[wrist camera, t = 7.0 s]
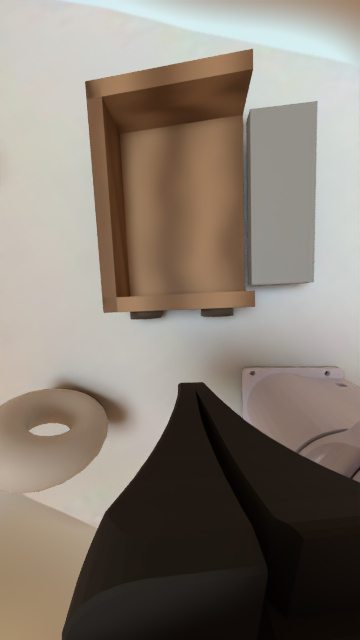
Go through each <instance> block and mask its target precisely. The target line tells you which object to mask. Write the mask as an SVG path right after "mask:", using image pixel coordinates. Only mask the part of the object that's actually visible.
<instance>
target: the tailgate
mask: <svg viewBox="0 0 360 640" xmlns="http://www.w3.org/2000/svg"><path fill="white" fill-rule="evenodd" d="M246 126H247V220H248V286H257V285H278V284H298V283H309V282H314V240H315V190H316V141H317V101H315V102H307V103H299V104H290V105H282V106H274V107H266V108H257V109H250V112H249V115H248V118H247V122H246Z"/></svg>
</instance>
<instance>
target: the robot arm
mask: <svg viewBox="0 0 360 640" xmlns="http://www.w3.org/2000/svg"><path fill="white" fill-rule="evenodd" d="M251 371H254V374H250V372H251ZM326 371H327V374H324V373H325V372H326ZM62 640H360V388H359V387H357V386H355V385H353V384H351V383H350V382H348V381H346V380H344V371H343V370H342V369H340V368H338V367H246V368H244V369H243V370H242V417H240V416H239V415H238V414H237V413H235V412H234V411H233V410H232V409H231V408H229V407H228V406H227V405H226V404H225V403H224V402H223V401H222V400H221V399H219V398H218V397H217V396H216V395H215V394H214V393H213V392H212V391H211V390H210V389H209V388H208V387H207V386H206V385H205V384H204V383H203V382H198V383H180V384H179V385H178V396H177V400H176V404H175V407H174V410H173V412H172V415H171V417H170V420H169V422H168V424H167V426H166V428H165V430H164V432H163V434H162V436H161V438H160V440H159V441H158V443H157V445H156V446H155V448H154V450H153V451H152V453H151V454H150V456H149V457H148V459H147V460H146V462H145V463H144V464H143V466H142V467H141V469H140V470H139V471H138V473H137V474H136V476H135V477H134V478H133V480H132V481H131V482H130V483H129V485H128V486H127V487H126V488H125V489H124V491H123V492H122V493H121V494H120V495H119V497H118V498H117V499H116V500H115V501H114V502H113V504H112V505H111V506H110V507H109V508H108V510H107V511H106V512H105V514H104V516H103V518H102V520H101V523H100V525H99V527H98V529H97V531H96V534H95V536H94V538H93V541H92V543H91V546H90V548H89V550H88V553H87V556H86V558H85V561H84V564H83V566H82V569H81V572H80V575H79V577H78V580H77V583H76V587H75V591H74V594H73V597H72V601H71V604H70V608H69V611H68V614H67V618H66V621H65V625H64V628H63V632H62Z"/></svg>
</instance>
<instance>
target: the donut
mask: <svg viewBox="0 0 360 640" xmlns="http://www.w3.org/2000/svg"><path fill="white" fill-rule="evenodd" d="M47 423H60V424H64V425H66V426H68V427H69V428H70V430H69V431H67V432H65V433H63V434H60V435H55V436H38V435H34V434H32V433H31V432H29V430H30V429H32V428H34V427H36V426H38V425H41V424H47ZM107 429H108V419H107V416H106V413H105V411H104V409H103V407H102V406H101V405H100V404H99V403H98V402H97V401H96V400H95V399H94V398H92V397H90V396H89V395H87V394H85V393H82V392H78V391H75V390H69V389H43V390H38V391H34V392H29V393H26V394H23V395H21V396H18V397H16V398H13V399H11V400H9V401H7V402H6V403H4V404H3V405H1V406H0V491H2V492H7V493H11V494H17V493H29V492H39V491H42V490H45V489H48V488H51V487H54V486H56V485H59V484H62V483H64V482H66V481H67V480H69V479H70V478H72V477H73V476H75V475H77V474H78V473H80V472H81V471H83V470H84V469H85V468H86V467H87V466H88V465H89V464H90V462H91V461H92V460H93V459H94V458H95V457H96V456H97V455H98V454H99V452H100V450H101V448H102V445H103V443H104V441H105V439H106V437H107Z"/></svg>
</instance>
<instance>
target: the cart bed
mask: <svg viewBox="0 0 360 640" xmlns="http://www.w3.org/2000/svg"><path fill="white" fill-rule="evenodd" d="M252 71H253V49H250V50H244V51H239V52H234V53H229V54H224V55H219V56H214V57H209V58H203V59H198V60H193V61H188V62H183V63H178V64H173V65H168V66H163V67H157V68H152V69H147V70H142V71H137V72H132V73H127V74H122V75H116V76H111V77H106V78H101V79H96V80H91V81H86V82H85V85H86V98H87V110H88V123H89V135H90V148H91V160H92V173H93V186H94V198H95V211H96V223H97V236H98V248H99V261H100V273H101V286H102V298H103V311H104V313H108V312H130V316H131V319H153V318H160V317H161V310H183V309H201V316H204V317H219V316H232V315H233V307H255V291H245V261H244V179H243V111H244V107H245V102H246V98H247V93H248V89H249V84H250V80H251V76H252Z"/></svg>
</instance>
